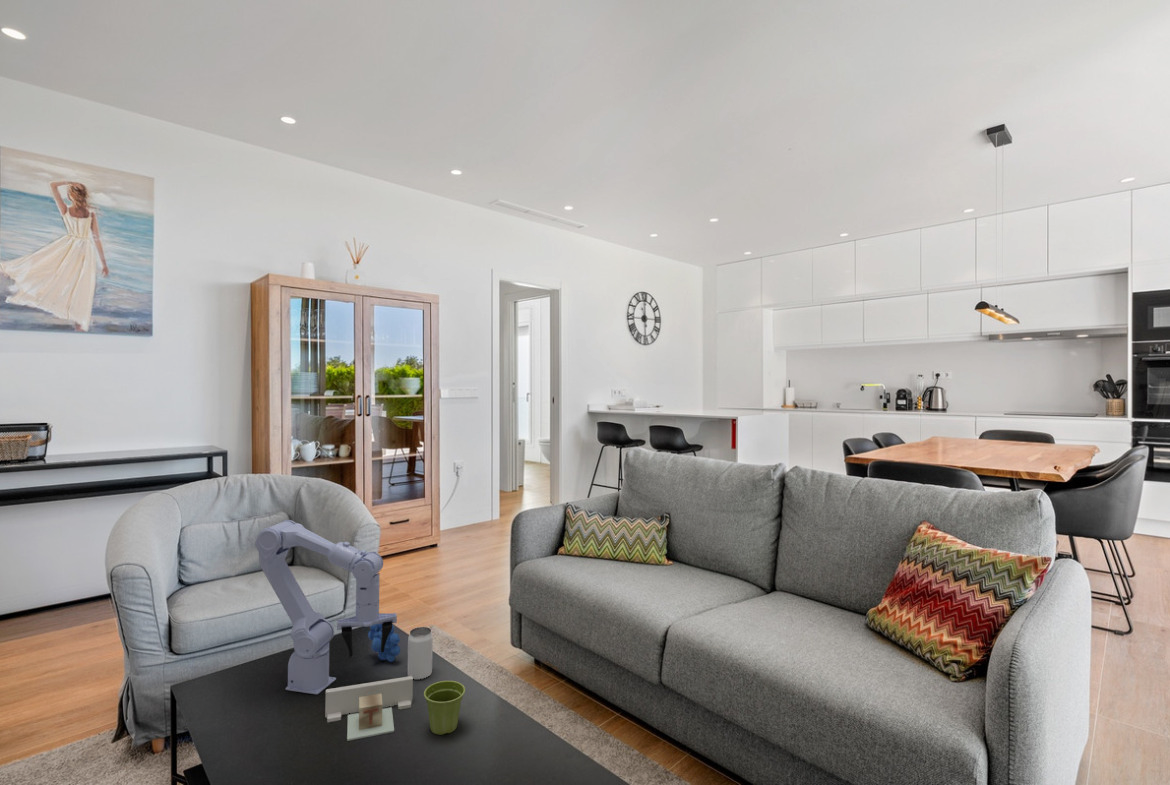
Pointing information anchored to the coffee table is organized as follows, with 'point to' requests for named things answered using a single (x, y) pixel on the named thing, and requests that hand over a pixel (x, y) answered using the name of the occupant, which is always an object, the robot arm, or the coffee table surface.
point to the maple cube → (370, 711)
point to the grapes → (390, 646)
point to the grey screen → (348, 696)
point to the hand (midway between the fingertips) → (366, 652)
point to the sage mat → (355, 733)
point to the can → (420, 653)
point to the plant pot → (444, 705)
